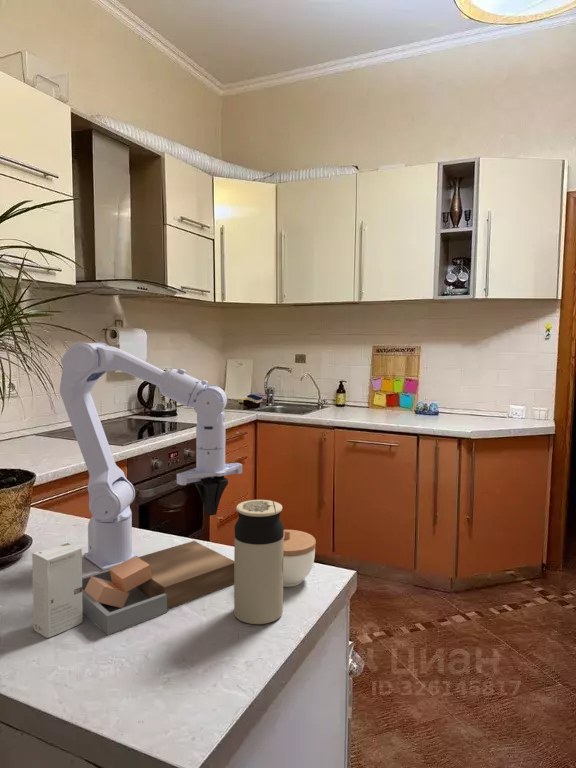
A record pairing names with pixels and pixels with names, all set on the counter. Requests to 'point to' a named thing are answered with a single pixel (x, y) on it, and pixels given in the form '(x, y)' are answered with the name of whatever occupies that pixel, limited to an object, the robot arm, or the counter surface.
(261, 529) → the travel mug
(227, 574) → the dark wood platform
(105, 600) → the tile front
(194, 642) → the counter surface
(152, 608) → the tray
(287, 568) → the lidded jar
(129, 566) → the tile rear
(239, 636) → the counter surface
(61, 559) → the skincare box
